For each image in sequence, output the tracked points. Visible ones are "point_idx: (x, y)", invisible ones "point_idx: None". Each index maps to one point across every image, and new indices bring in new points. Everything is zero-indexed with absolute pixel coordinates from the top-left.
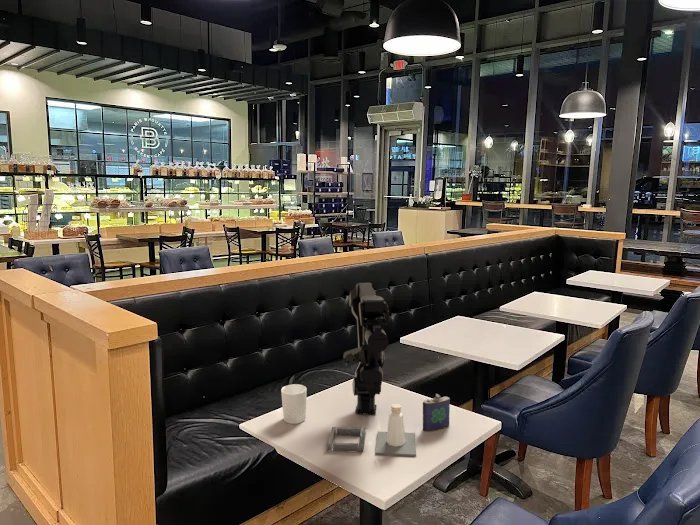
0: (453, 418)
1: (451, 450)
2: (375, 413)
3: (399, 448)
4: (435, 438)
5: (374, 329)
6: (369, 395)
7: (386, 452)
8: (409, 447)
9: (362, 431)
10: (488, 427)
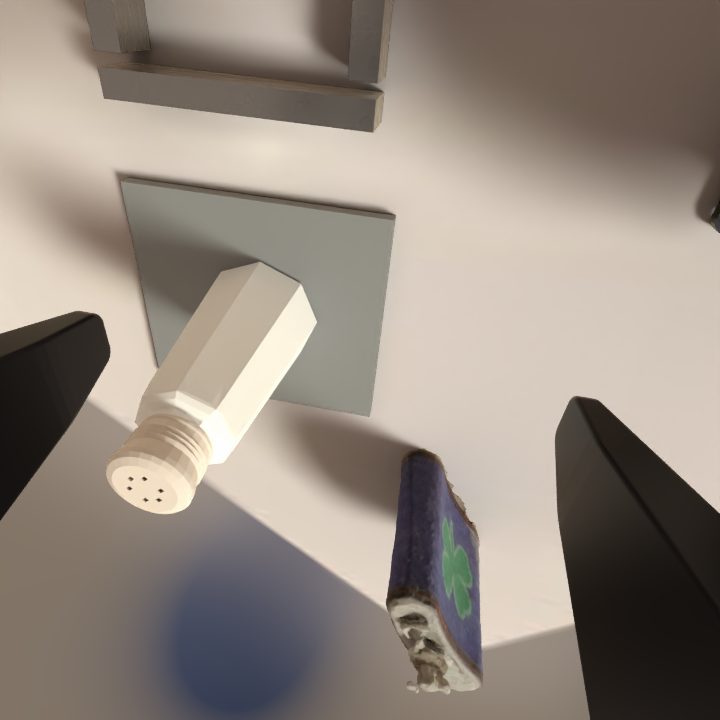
0: (521, 572)
1: (244, 494)
2: (716, 230)
3: None
4: (337, 473)
5: None
6: (26, 329)
7: (139, 246)
8: None
9: (314, 98)
10: None
